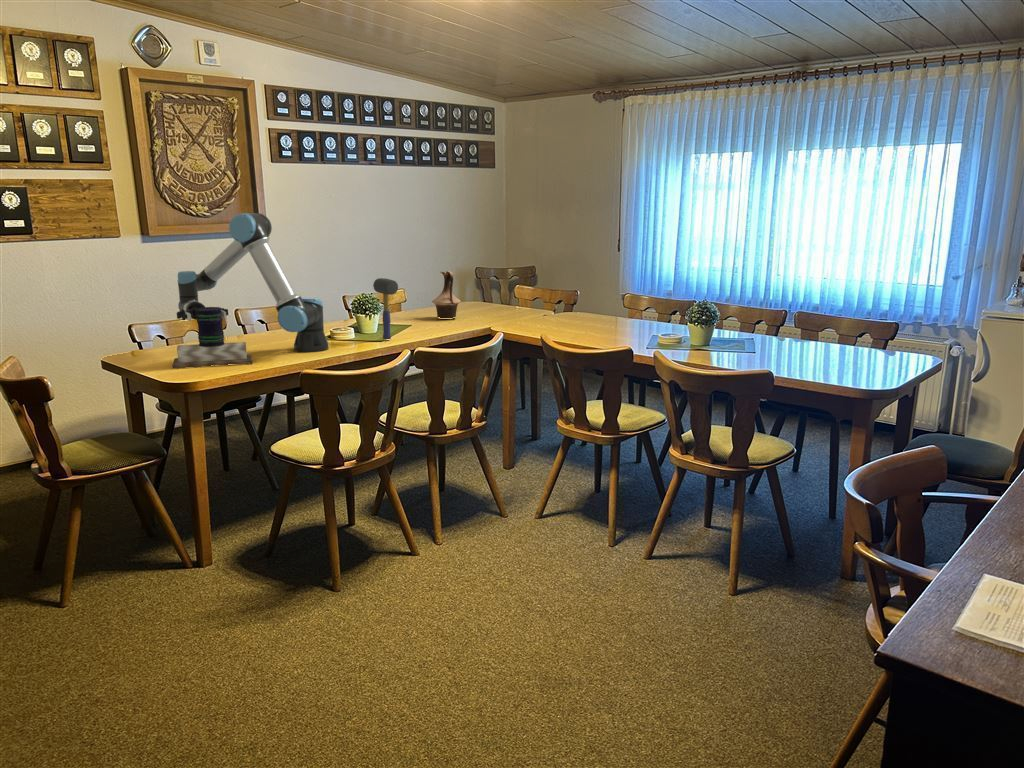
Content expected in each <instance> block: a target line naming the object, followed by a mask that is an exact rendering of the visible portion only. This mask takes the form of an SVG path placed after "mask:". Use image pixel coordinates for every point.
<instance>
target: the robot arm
mask: <svg viewBox="0 0 1024 768" xmlns="http://www.w3.org/2000/svg"><path fill="white" fill-rule="evenodd" d="M228 225H229V226H228V231H229V234H230V236H231V238H232V239H233V241H232V242H231V243H230V244H229V245H228V246H227V247H225V248H224V249H223V251H221V252H220V254H218V255H217V256H216V257H215V258H214V259H213V260H212V261H211V262H210V263H209V264H208V265H206V266H205V267H204V268H203V269H202V270H201V271H200V272H199V273H196V271H193V270H181V271H178V272H177V286H178V287H177V289H178V294H179V295H178V296H179V297H178V299H179V301H178V305H177V308H178V309H179V311H176V319H177V320H179V319H181V321H186V320H187V321H188V322H192V319H193V320H196V321H197V317H196V312H197V311H196V309H197V308H202V307H206V306H205V305H204V304H203V303H202V302H200V301H199V293H198V292H202V291H208V290H209V291H210V290H211V289H213V288H215V287H216V286H217V283H218V281H219V280H220V279H221V278H222V277H223V276H224V275H225V274H227V273H228V271H230V270H231V269H232V268H233V267H234V266H235V265H236V264H237V263H239V262H240V260H242V259H243V258H244V257H245V256H246V255H247V254H248V253H250V256H251V258H252V259H253V261H254V263H255V265H256V267H257V268H258V270H259V272H260V274H261V276H262V278H263V280H264V282H265V283H266V285H267V287H268V289H269V290H270V293H271V294H272V296H273V299H274V300H275V302H276V304H275V309H276V312H277V317H276V318H277V322H278V325H279V327H281V328H282V329H283V330H285V331H286V332H288V333H296V336H295V338H294V339H295V340H294V343H293V349H294V351H296V352H304V353H311V352H312V353H313V352H314V353H315V352H322V351H327V350H328V349H329V342H328V340H327V337H326V335H325V330H324V306H323V301H322V299H320V298H302V296H301V295H299V294H296V292H295V291H294V289H293V287H292V285H291V284H290V281H289V279H288V278H287V275H286V274H285V272H284V271H283V269H282V266H281V265H280V263H279V261H278V259H277V257H276V256H275V254H274V252H273V249H272V248H271V246H270V244H269V241H270V235H271V233H272V230H273V228H272V222H271V221H270V219H269V218H268V216H266V215H265V214H262V213H260V212H259V213H258V212H253V213H251V212H249V213H248V212H242V213H239V214H236V215H234V216H232V218H231V219H230V222H229V224H228ZM221 308H222V310H221V311H222V319H227V316H229V309H227V308H224V307H221Z"/></svg>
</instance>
